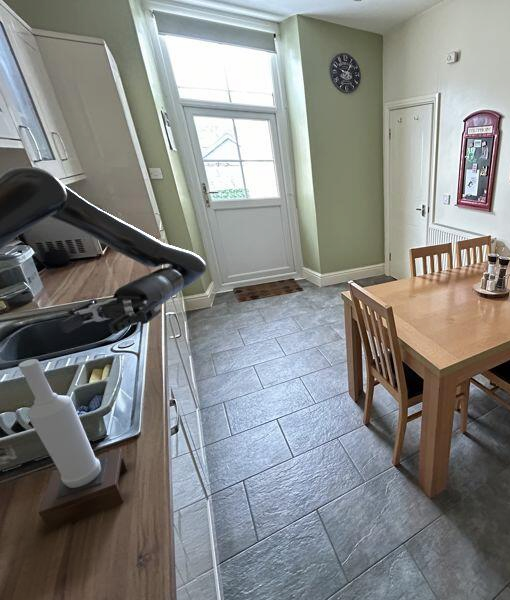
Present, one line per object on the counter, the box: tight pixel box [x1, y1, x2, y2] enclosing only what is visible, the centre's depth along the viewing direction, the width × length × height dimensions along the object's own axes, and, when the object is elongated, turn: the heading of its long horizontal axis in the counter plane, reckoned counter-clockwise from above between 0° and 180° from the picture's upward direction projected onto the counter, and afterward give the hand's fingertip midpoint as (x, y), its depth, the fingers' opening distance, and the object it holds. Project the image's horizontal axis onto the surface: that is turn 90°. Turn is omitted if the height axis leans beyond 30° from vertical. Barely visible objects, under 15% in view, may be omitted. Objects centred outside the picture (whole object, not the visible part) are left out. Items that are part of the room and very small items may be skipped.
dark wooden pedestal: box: [37, 448, 129, 531], centre depth 61 cm, size 10×9×5 cm
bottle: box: [18, 358, 101, 488], centre depth 55 cm, size 5×5×25 cm
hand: (87, 328), depth 60 cm, fingers open, 8 cm apart
